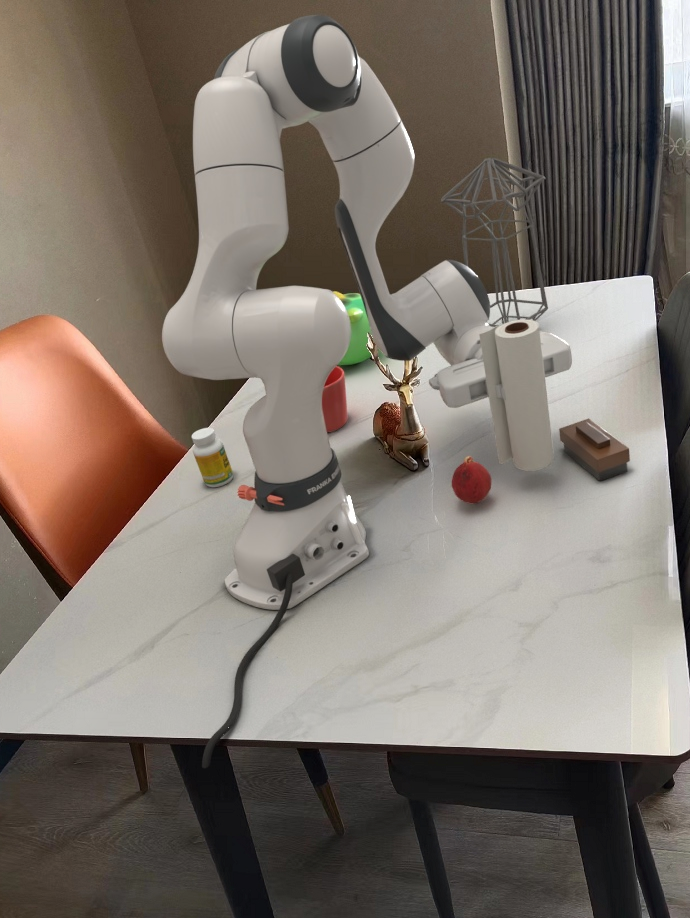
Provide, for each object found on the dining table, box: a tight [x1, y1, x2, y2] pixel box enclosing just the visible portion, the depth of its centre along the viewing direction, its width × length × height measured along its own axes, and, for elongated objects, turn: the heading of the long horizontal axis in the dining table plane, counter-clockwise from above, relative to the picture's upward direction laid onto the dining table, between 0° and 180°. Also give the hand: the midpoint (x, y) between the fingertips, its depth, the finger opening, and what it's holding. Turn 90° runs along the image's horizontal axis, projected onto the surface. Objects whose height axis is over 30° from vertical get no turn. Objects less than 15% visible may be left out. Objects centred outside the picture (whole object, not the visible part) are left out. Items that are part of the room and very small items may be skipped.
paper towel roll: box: [479, 318, 555, 471], centre depth 123 cm, size 7×6×21 cm
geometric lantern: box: [440, 157, 549, 327], centre depth 170 cm, size 16×16×35 cm
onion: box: [451, 455, 492, 505], centre depth 127 cm, size 6×6×8 cm
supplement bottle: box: [191, 427, 234, 488], centre depth 150 cm, size 5×5×10 cm
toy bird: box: [332, 290, 380, 366], centre depth 182 cm, size 18×17×15 cm
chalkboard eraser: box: [558, 418, 631, 482], centre depth 131 cm, size 12×5×5 cm, turn 18°
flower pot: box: [322, 365, 348, 433], centre depth 160 cm, size 11×11×10 cm
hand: (525, 389), depth 121 cm, fingers closed on paper towel roll, 3 cm apart
